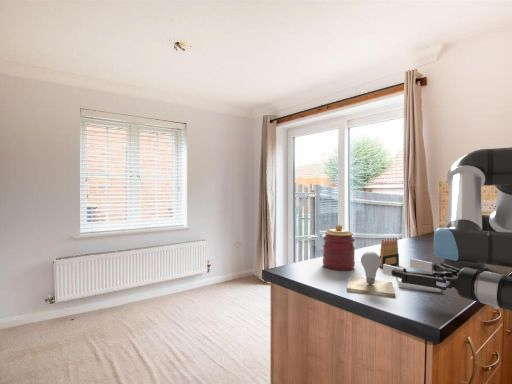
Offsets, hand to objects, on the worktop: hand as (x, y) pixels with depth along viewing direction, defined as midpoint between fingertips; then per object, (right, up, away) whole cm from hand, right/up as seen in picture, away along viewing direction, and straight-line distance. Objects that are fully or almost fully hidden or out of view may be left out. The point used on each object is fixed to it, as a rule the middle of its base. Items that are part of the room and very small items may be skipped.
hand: (397, 265), depth 87 cm
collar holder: (+13, -10, +12) cm, 20 cm away
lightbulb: (-5, -9, +8) cm, 13 cm away
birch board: (-5, -9, +8) cm, 14 cm away
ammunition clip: (+14, -10, +35) cm, 39 cm away
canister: (-8, -9, +34) cm, 36 cm away
